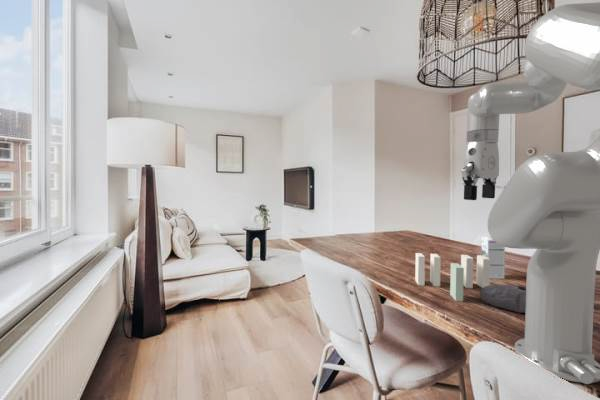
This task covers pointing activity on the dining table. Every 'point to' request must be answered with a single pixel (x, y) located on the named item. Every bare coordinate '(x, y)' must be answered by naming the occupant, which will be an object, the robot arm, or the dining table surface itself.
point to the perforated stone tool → (505, 297)
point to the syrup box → (494, 257)
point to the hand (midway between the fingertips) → (479, 198)
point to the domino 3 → (456, 281)
